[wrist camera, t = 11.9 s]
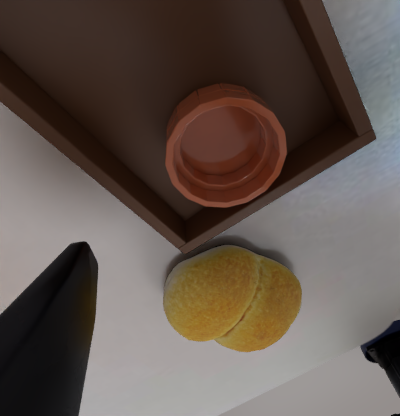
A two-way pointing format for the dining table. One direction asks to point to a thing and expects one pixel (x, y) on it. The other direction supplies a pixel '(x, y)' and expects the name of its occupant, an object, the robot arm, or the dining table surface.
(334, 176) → the dining table surface
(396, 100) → the dining table surface
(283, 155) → the side dish
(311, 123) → the serving tray
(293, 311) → the bread roll
